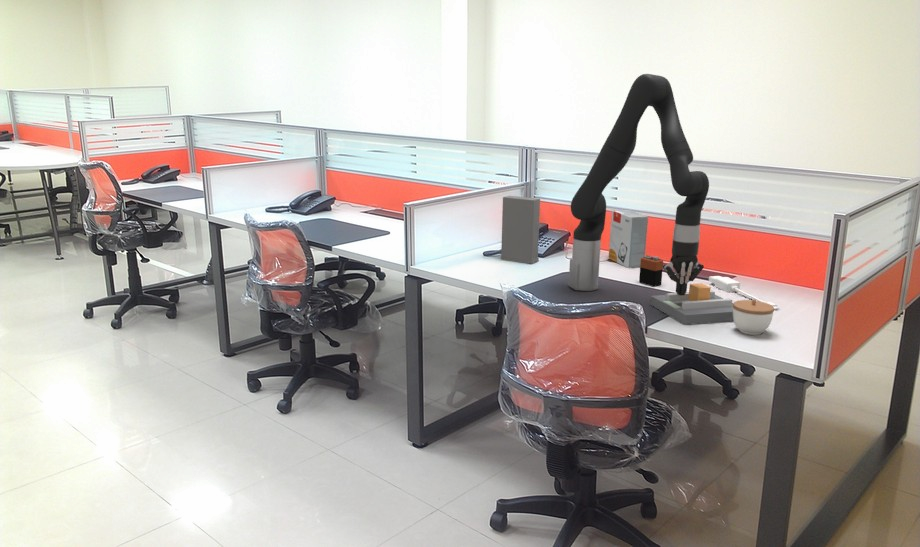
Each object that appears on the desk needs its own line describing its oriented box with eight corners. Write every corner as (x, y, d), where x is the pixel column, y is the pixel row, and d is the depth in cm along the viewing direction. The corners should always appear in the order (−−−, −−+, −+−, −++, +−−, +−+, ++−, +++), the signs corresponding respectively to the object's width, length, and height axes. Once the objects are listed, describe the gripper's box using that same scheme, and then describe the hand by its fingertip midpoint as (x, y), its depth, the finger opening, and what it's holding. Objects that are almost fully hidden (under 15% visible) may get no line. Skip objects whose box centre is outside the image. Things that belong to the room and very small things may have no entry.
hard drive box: (607, 259, 286) (610, 209, 281) (624, 257, 288) (628, 209, 283) (627, 268, 271) (631, 216, 266) (645, 267, 274) (649, 215, 269)
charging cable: (769, 314, 221) (770, 304, 220) (707, 283, 251) (708, 274, 250) (782, 313, 223) (784, 303, 222) (719, 282, 253) (720, 273, 252)
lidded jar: (747, 323, 209) (751, 292, 207) (779, 334, 200) (783, 302, 198) (722, 328, 204) (725, 297, 202) (752, 340, 195) (756, 307, 193)
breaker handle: (697, 304, 215) (698, 288, 214) (688, 299, 220) (689, 283, 218) (708, 303, 216) (710, 287, 215) (699, 298, 221) (701, 283, 219)
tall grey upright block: (538, 261, 280) (541, 198, 274) (531, 264, 275) (534, 200, 269) (507, 256, 287) (509, 195, 281) (500, 259, 282) (502, 197, 276)
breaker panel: (684, 324, 207) (686, 308, 206) (650, 304, 226) (651, 289, 224) (747, 320, 212) (749, 304, 211) (708, 300, 231) (710, 286, 229)
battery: (653, 286, 246) (656, 258, 244) (638, 282, 252) (640, 255, 249) (661, 285, 249) (664, 257, 246) (646, 280, 254) (648, 253, 251)
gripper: (672, 242, 206) (667, 299, 210) (712, 240, 209) (707, 297, 214) (659, 237, 213) (654, 292, 218) (698, 235, 216) (693, 290, 221)
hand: (680, 294), depth 216 cm, fingers closed
